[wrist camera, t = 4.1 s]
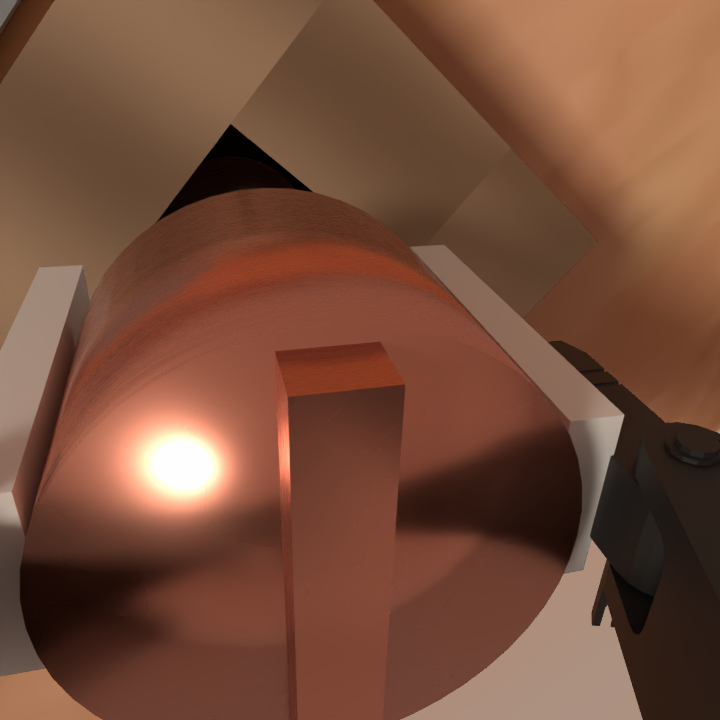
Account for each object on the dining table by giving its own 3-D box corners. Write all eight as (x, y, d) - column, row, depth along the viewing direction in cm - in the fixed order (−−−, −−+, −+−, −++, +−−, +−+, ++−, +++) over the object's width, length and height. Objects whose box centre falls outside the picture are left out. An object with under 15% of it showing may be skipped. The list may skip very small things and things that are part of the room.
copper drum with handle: (95, 109, 16) (-93, 412, 5) (348, 107, 18) (685, 336, 6) (131, 340, 19) (72, 870, 8) (344, 322, 21) (564, 748, 9)
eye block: (270, 456, 23) (291, 560, 19) (-89, 261, 17) (-172, 348, 13) (510, 188, 21) (597, 240, 16) (181, -148, 15) (185, -202, 11)
